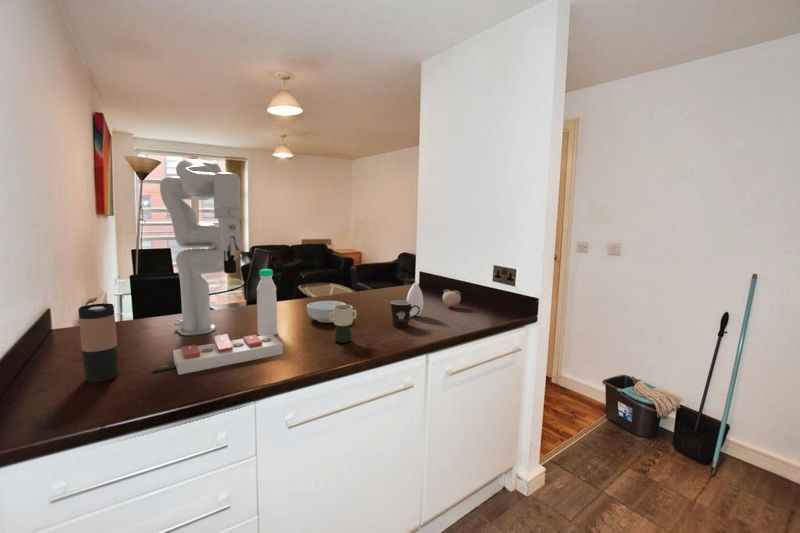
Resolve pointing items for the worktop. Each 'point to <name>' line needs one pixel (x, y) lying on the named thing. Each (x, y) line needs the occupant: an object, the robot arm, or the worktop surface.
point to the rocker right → (252, 340)
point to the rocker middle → (223, 343)
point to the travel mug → (99, 341)
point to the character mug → (342, 321)
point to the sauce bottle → (415, 299)
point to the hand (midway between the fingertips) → (230, 272)
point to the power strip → (224, 355)
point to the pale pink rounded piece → (451, 298)
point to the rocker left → (190, 351)
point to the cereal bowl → (322, 310)
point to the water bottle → (266, 304)
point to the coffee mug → (401, 313)
